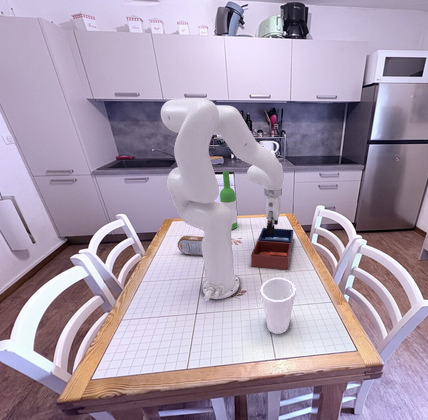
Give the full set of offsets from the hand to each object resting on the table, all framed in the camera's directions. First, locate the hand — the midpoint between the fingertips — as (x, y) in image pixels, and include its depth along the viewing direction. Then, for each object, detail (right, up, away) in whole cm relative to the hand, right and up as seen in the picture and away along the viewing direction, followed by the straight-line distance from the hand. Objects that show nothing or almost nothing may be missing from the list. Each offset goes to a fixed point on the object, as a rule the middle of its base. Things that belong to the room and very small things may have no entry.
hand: (272, 228), depth 105 cm
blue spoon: (+2, -7, +4) cm, 8 cm away
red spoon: (+1, -12, -8) cm, 14 cm away
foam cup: (+3, -25, -37) cm, 45 cm away
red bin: (0, -12, -7) cm, 15 cm away
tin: (-33, -11, -4) cm, 35 cm away
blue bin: (+2, -8, +4) cm, 9 cm away
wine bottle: (-23, -1, +20) cm, 31 cm away
